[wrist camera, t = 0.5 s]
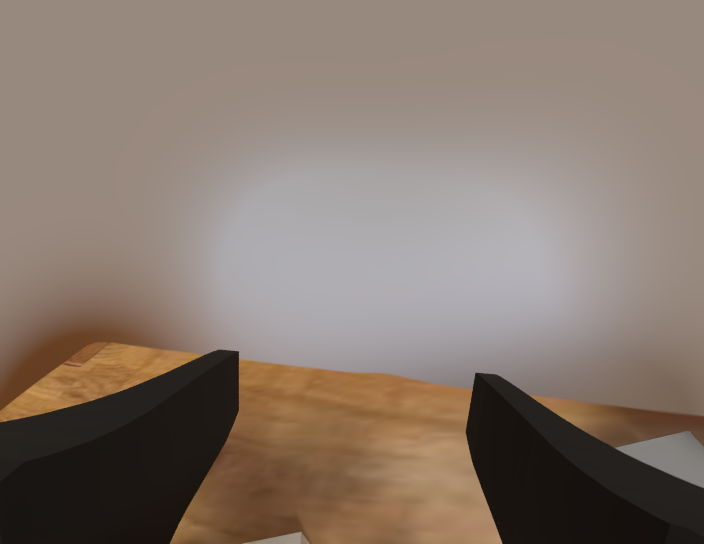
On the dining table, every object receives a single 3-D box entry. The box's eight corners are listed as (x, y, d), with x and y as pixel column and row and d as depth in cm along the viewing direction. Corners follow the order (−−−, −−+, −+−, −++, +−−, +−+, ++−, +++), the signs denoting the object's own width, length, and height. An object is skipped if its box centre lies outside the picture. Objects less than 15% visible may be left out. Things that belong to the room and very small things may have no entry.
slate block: (805, 619, 17) (833, 579, 15) (645, 647, 18) (652, 613, 16) (679, 471, 23) (688, 430, 21) (564, 497, 24) (562, 459, 22)
